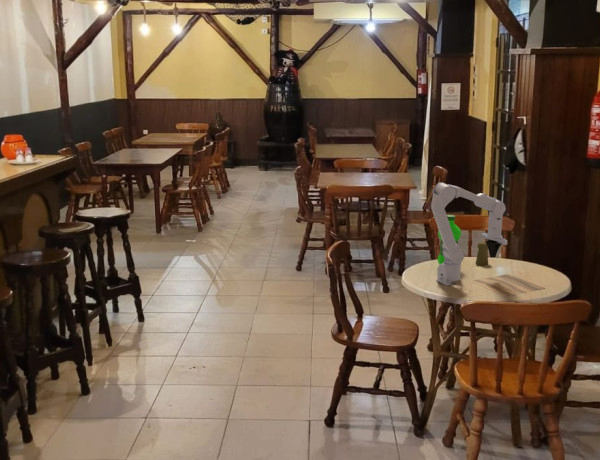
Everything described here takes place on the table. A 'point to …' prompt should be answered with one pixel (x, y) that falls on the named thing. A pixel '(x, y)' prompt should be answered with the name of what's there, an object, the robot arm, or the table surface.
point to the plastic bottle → (456, 234)
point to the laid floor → (498, 287)
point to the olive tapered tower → (482, 254)
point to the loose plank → (521, 282)
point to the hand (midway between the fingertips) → (492, 257)
